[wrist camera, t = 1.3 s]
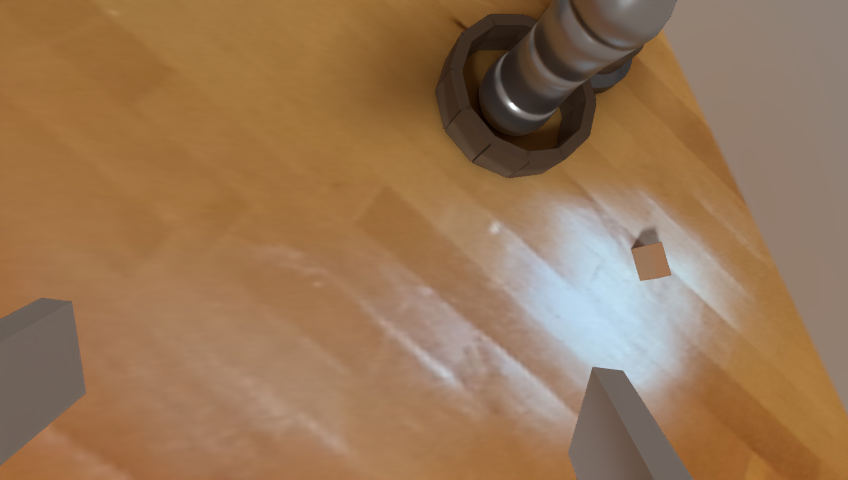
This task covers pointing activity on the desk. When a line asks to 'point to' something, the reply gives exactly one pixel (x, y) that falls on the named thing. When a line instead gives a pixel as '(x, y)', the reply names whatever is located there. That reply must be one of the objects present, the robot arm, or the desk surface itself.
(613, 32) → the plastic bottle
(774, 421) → the desk surface
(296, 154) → the desk surface
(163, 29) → the desk surface
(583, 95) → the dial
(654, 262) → the small brown block
